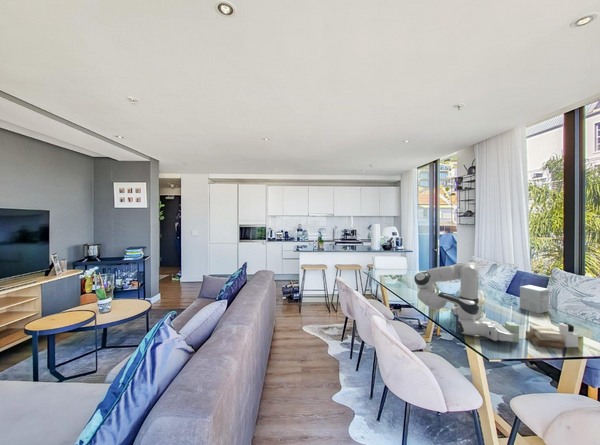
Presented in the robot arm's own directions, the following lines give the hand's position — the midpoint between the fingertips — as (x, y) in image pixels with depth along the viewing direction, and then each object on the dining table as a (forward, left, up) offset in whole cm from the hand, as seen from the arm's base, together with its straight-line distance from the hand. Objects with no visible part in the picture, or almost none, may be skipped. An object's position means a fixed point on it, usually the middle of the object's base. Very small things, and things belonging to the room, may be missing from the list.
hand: (513, 331), depth 159 cm
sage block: (0, -1, -6) cm, 6 cm away
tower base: (0, +16, -6) cm, 17 cm away
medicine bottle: (-1, +27, -6) cm, 28 cm away
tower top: (0, +16, -2) cm, 16 cm away
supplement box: (-60, +44, -6) cm, 75 cm away
